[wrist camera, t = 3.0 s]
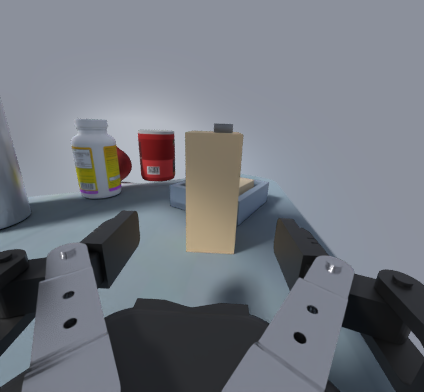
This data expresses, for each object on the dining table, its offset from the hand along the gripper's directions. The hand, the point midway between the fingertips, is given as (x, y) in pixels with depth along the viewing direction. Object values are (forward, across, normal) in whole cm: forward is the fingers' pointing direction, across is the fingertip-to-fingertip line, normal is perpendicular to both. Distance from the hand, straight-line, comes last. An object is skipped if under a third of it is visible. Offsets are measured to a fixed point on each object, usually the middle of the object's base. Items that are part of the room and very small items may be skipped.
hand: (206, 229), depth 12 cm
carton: (+10, 0, +7) cm, 13 cm away
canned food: (+38, +14, +7) cm, 41 cm away
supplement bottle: (+25, +21, +7) cm, 33 cm away
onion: (+33, +22, +7) cm, 40 cm away
